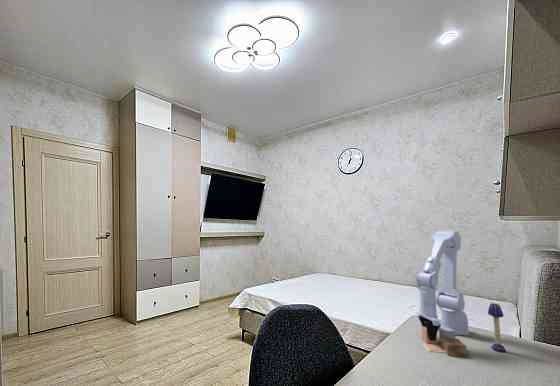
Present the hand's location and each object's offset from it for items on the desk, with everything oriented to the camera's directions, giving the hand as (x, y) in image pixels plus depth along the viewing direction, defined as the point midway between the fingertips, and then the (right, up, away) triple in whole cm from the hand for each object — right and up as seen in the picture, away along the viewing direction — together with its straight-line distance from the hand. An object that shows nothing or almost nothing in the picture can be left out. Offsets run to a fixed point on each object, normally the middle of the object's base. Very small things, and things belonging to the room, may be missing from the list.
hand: (429, 337), depth 107 cm
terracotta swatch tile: (-2, -1, -6) cm, 6 cm away
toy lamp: (+22, -1, -6) cm, 23 cm away
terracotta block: (0, -1, 0) cm, 1 cm away
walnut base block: (+4, -1, -9) cm, 10 cm away
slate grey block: (+7, -2, 0) cm, 7 cm away
